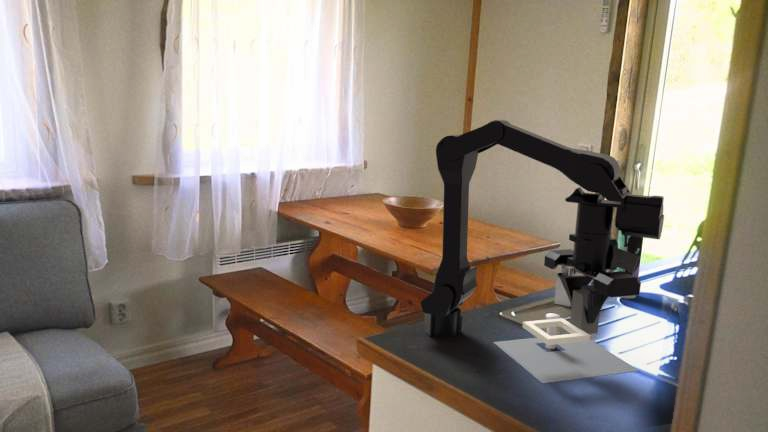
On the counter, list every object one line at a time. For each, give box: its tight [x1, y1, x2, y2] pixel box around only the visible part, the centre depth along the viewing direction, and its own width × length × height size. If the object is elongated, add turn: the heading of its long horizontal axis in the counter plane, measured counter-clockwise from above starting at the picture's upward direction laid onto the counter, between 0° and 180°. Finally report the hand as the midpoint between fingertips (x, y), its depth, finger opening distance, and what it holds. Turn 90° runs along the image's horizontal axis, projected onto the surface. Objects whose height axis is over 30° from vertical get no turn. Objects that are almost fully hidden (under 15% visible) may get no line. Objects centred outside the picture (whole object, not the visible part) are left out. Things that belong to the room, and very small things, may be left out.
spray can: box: [614, 230, 644, 299], centre depth 148 cm, size 6×6×20 cm
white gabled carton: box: [553, 276, 572, 308], centre depth 143 cm, size 4×7×10 cm, turn 144°
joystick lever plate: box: [521, 289, 601, 345], centre depth 103 cm, size 11×8×7 cm
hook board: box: [492, 313, 640, 384], centre depth 109 cm, size 19×17×8 cm
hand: (584, 319), depth 104 cm, fingers closed on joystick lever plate, 3 cm apart
